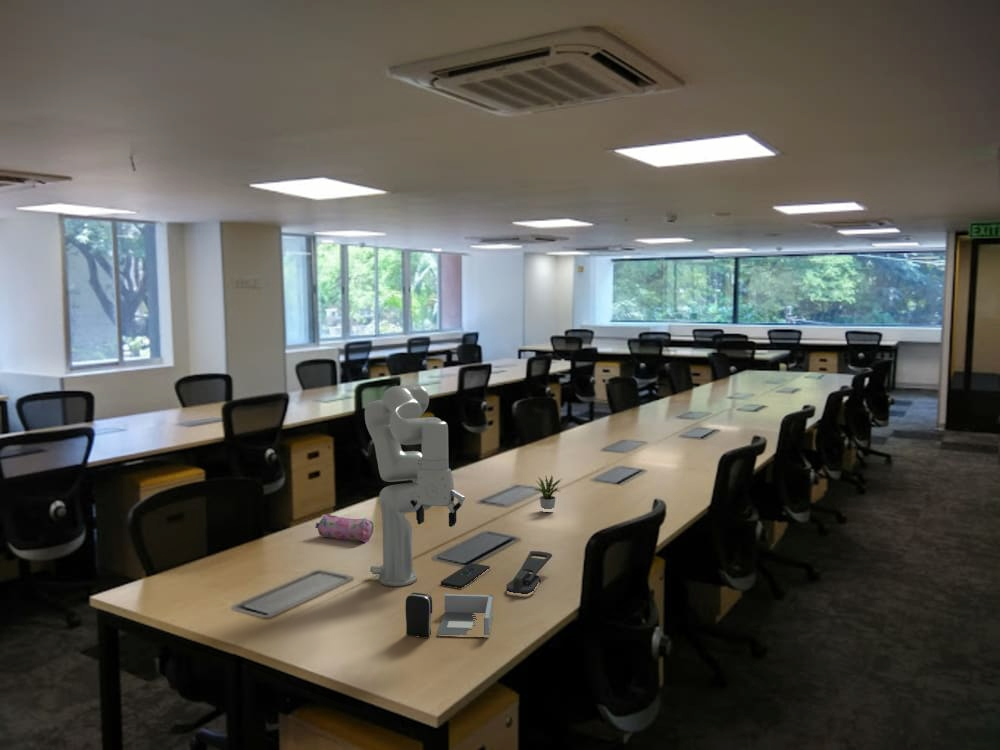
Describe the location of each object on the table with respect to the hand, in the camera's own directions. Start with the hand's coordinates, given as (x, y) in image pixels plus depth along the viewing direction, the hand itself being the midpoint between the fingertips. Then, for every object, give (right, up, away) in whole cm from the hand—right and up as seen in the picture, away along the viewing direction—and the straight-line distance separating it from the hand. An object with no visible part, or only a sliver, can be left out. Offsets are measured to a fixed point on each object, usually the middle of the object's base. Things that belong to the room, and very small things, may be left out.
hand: (436, 524), depth 208 cm
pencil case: (-42, -21, +76) cm, 89 cm away
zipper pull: (+28, -26, +31) cm, 49 cm away
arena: (+8, -28, -1) cm, 29 cm away
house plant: (+39, -18, +113) cm, 121 cm away
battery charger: (-4, -29, -8) cm, 30 cm away
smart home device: (+7, -25, +35) cm, 44 cm away
